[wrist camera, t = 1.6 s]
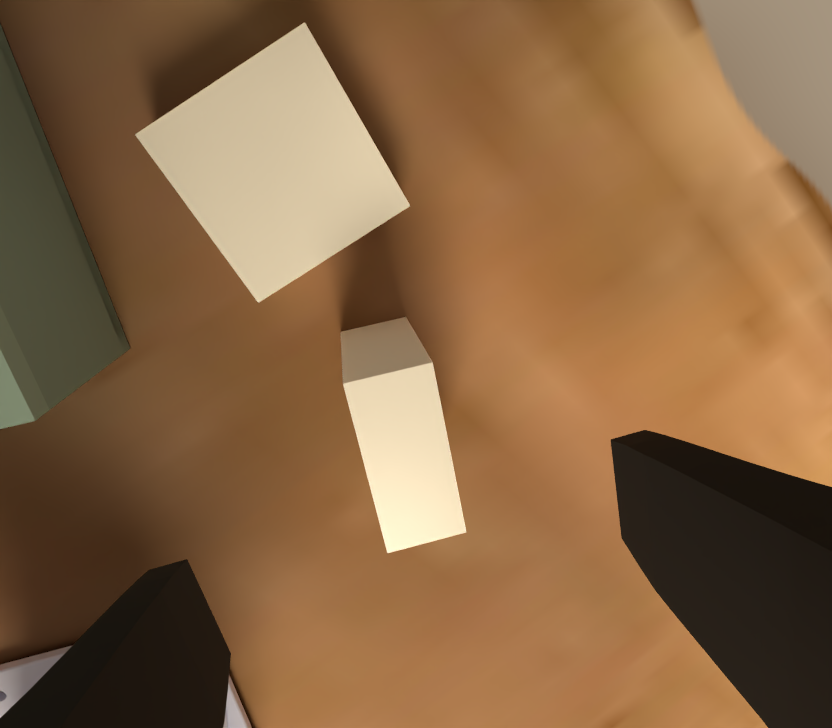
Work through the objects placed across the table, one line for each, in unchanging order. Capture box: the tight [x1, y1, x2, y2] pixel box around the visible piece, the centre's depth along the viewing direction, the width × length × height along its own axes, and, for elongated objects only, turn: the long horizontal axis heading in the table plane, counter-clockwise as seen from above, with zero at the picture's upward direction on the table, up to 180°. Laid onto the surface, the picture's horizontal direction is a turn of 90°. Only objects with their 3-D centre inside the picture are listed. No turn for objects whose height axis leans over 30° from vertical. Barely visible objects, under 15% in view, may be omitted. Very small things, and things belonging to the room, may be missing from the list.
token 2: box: [341, 317, 466, 553], centre depth 16 cm, size 5×2×5 cm, turn 12°
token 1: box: [135, 22, 410, 303], centre depth 15 cm, size 5×5×2 cm
